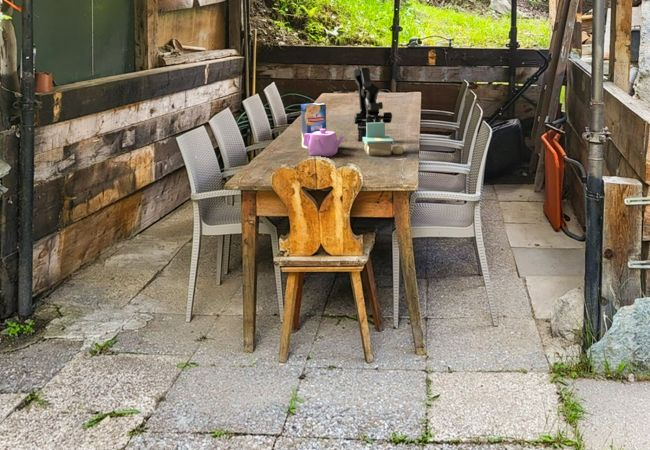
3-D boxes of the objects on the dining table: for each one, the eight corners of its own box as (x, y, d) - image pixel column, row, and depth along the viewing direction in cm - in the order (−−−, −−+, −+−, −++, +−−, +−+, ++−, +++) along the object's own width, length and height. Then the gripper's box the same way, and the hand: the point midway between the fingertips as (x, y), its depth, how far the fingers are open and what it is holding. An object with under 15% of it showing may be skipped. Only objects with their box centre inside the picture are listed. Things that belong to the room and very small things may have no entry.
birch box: (364, 150, 424) (364, 139, 423) (385, 150, 426) (386, 138, 424) (369, 155, 411) (368, 143, 409) (391, 154, 412) (391, 142, 411)
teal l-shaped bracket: (362, 140, 423) (362, 122, 420) (388, 140, 424) (388, 122, 422) (367, 145, 409) (367, 126, 406) (393, 144, 410) (393, 126, 408)
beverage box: (326, 146, 439) (326, 104, 433) (307, 148, 434) (306, 105, 428) (320, 144, 444) (319, 102, 439) (301, 146, 439) (300, 104, 434)
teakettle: (329, 149, 430) (329, 125, 426) (346, 154, 415) (346, 129, 412) (300, 153, 422) (299, 128, 419) (316, 158, 407) (315, 132, 404)
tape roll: (391, 153, 415) (391, 147, 414) (393, 152, 420) (393, 145, 419) (402, 154, 414) (402, 147, 413) (403, 152, 419) (403, 146, 418)
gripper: (354, 97, 422) (358, 122, 415) (391, 96, 424) (395, 121, 417) (352, 111, 432) (356, 135, 424) (388, 110, 434) (392, 134, 426)
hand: (375, 131), depth 422 cm, fingers closed
